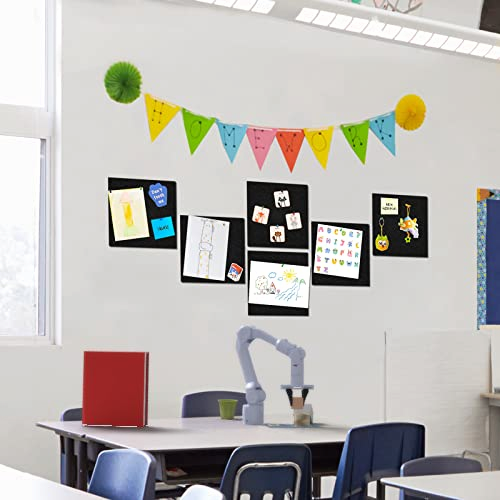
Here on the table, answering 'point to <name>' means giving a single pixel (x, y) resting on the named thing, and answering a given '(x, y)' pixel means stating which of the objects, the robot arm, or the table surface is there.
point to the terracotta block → (297, 403)
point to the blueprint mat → (292, 426)
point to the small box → (305, 411)
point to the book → (115, 388)
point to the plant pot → (227, 408)
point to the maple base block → (301, 419)
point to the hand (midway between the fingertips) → (297, 406)
